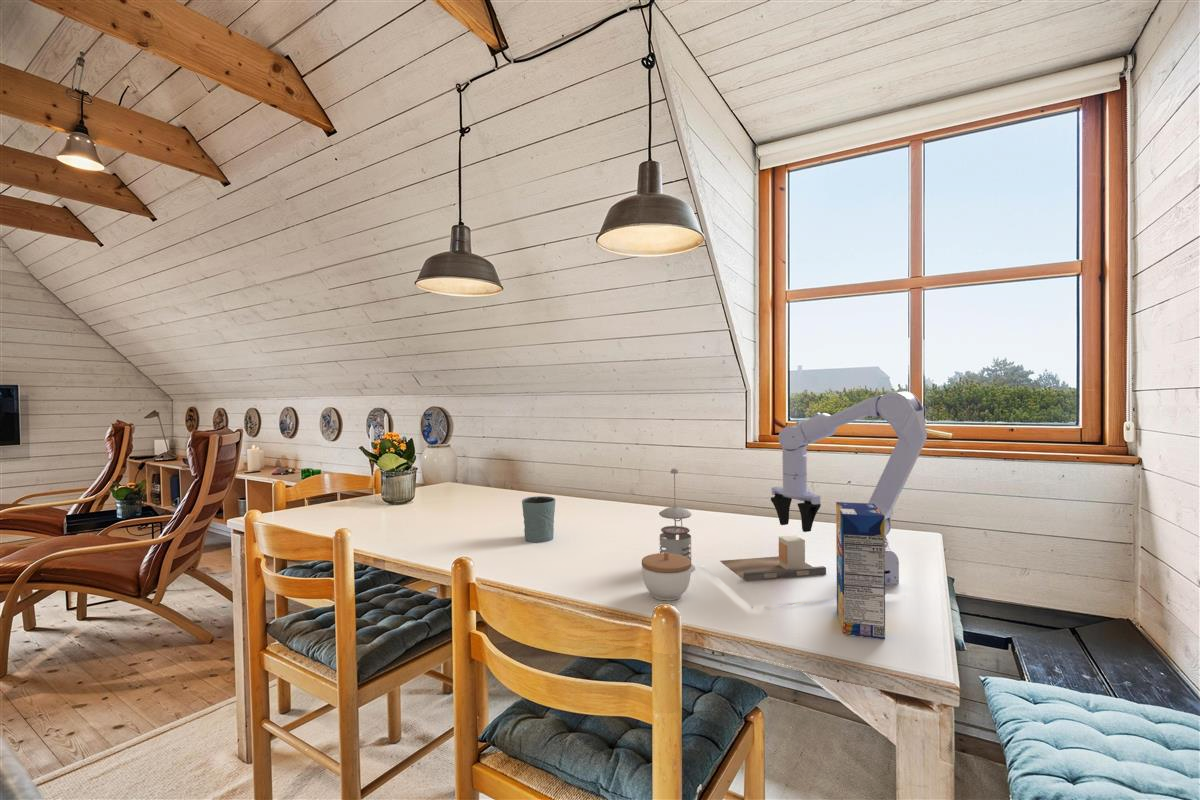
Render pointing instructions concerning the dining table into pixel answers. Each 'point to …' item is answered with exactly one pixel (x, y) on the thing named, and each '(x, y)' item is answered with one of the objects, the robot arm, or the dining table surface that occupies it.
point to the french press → (676, 531)
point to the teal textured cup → (538, 518)
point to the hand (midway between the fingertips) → (795, 527)
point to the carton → (791, 552)
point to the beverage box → (860, 569)
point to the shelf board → (769, 569)
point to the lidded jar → (666, 575)
